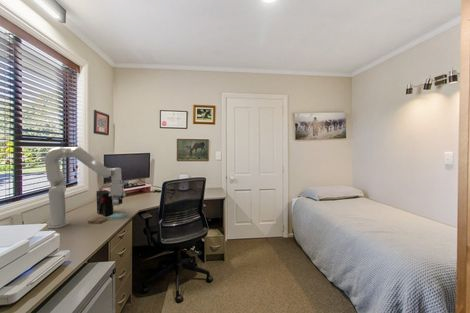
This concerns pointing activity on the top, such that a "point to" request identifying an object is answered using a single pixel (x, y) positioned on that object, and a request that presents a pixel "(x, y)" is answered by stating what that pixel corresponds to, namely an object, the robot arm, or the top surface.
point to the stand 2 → (117, 216)
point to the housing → (116, 200)
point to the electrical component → (104, 203)
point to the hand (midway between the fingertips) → (117, 203)
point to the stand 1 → (98, 220)
